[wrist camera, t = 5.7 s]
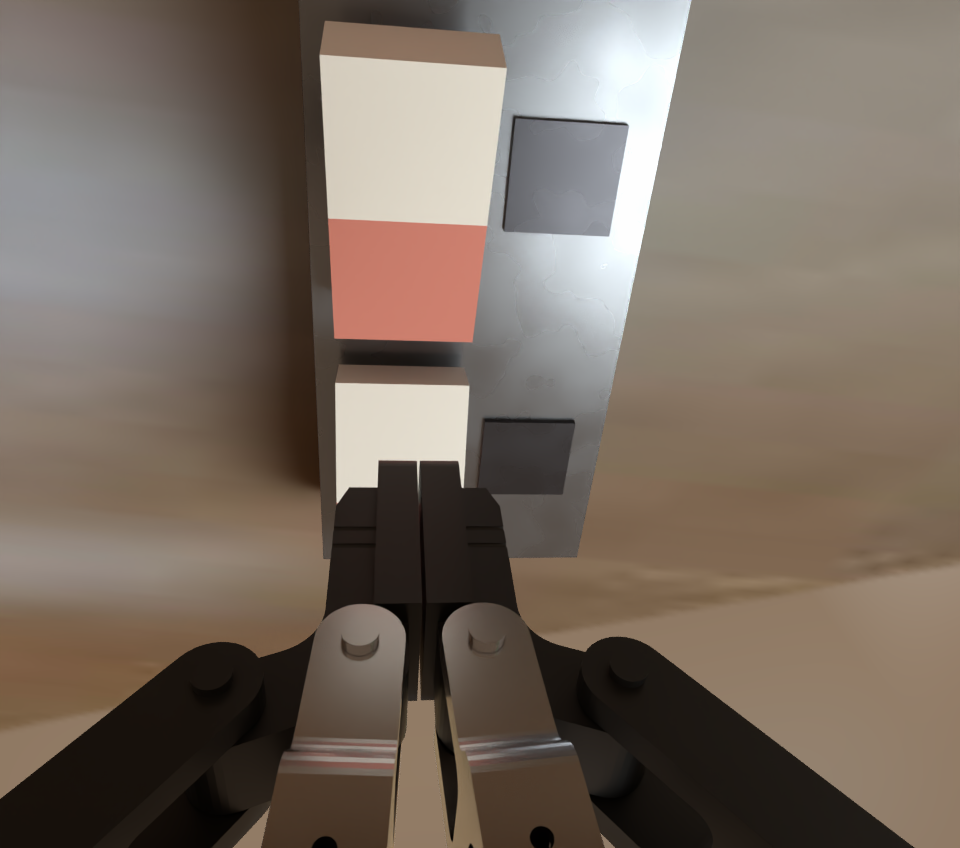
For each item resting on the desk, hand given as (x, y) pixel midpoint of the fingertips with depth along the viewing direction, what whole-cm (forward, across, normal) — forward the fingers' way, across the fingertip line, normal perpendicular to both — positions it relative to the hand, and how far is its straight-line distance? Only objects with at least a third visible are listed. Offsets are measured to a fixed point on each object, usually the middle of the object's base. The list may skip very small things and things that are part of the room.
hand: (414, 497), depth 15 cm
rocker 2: (+10, 0, +7) cm, 12 cm away
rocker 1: (+9, 0, -3) cm, 10 cm away
